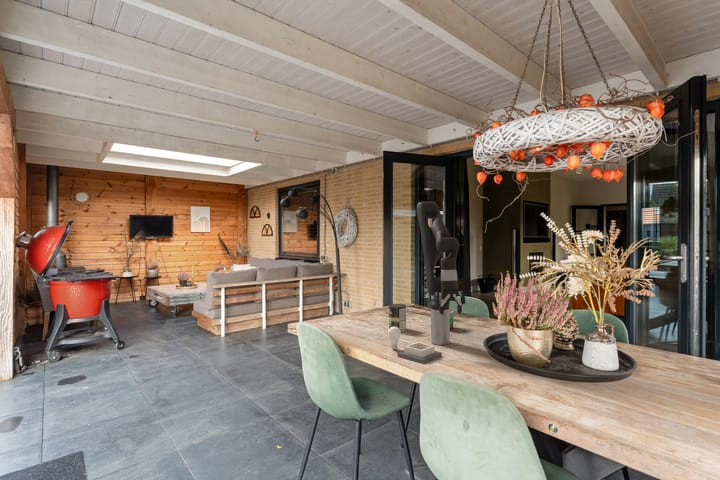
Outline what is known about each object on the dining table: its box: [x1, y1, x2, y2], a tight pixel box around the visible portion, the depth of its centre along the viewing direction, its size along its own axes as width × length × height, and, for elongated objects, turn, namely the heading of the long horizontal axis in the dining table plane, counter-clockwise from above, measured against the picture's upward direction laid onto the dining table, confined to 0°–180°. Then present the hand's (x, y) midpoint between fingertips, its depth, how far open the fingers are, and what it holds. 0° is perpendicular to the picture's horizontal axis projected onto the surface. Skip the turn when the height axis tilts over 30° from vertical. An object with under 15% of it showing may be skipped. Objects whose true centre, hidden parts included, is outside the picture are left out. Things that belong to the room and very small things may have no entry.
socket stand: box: [397, 341, 443, 364], centre depth 167 cm, size 14×14×4 cm
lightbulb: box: [387, 327, 402, 351], centre depth 177 cm, size 6×6×11 cm
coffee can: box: [388, 303, 407, 332], centre depth 215 cm, size 10×10×14 cm
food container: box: [449, 309, 456, 331], centre depth 214 cm, size 12×6×10 cm, turn 131°
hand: (450, 314), depth 174 cm, fingers open, 8 cm apart
